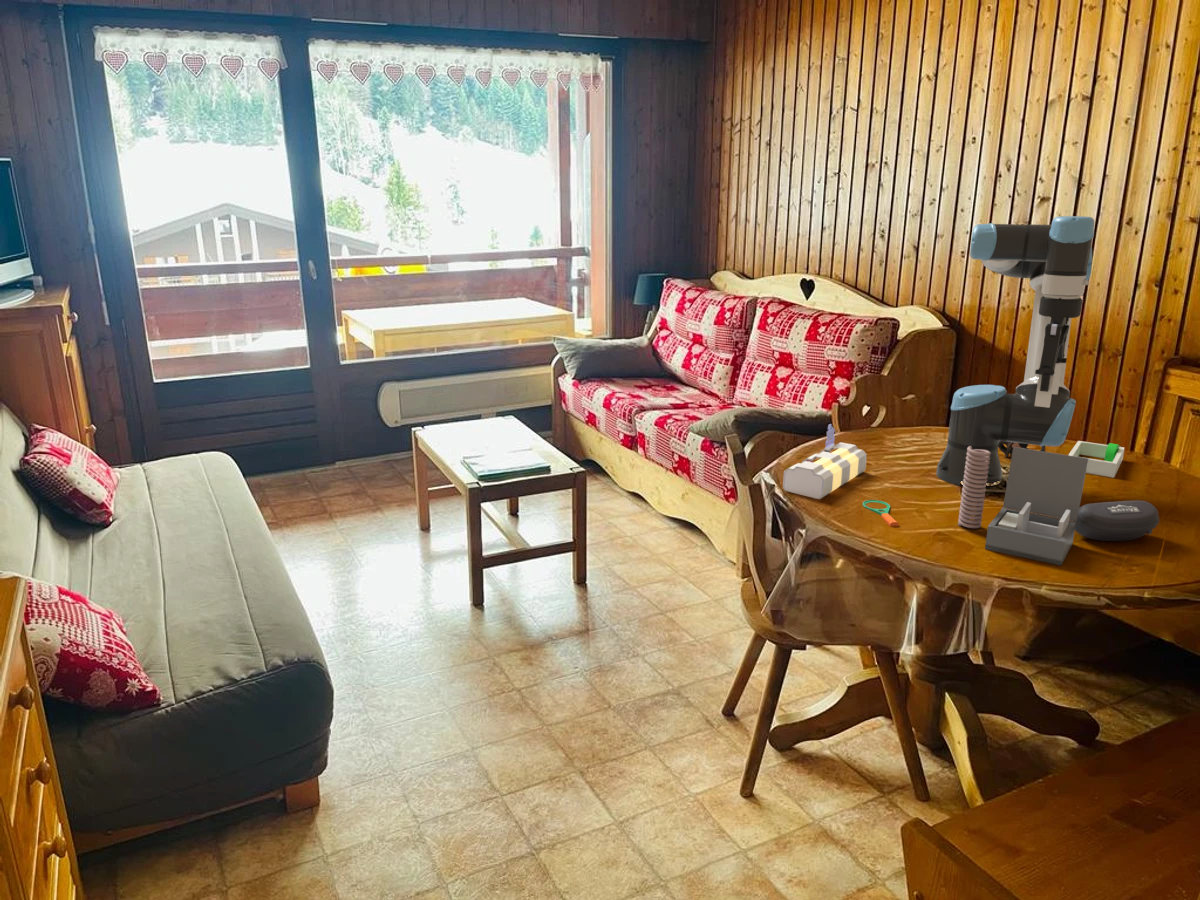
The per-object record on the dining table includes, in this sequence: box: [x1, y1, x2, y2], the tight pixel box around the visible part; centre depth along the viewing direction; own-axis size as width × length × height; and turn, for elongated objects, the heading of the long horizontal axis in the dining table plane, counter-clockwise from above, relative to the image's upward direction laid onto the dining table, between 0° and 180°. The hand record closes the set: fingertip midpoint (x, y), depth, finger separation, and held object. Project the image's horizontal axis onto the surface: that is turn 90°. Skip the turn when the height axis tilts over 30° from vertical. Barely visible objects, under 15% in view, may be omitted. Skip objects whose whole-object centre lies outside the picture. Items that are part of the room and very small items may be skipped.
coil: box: [957, 446, 991, 529], centre depth 184 cm, size 5×5×18 cm
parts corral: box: [1068, 440, 1125, 479], centre depth 226 cm, size 11×17×4 cm, turn 144°
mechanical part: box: [1103, 442, 1120, 462], centre depth 229 cm, size 12×6×8 cm, turn 139°
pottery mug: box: [998, 441, 1047, 458], centre depth 230 cm, size 12×9×8 cm
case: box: [984, 447, 1090, 566], centre depth 176 cm, size 14×16×18 cm
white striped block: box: [782, 423, 868, 500], centre depth 213 cm, size 25×10×13 cm, turn 141°
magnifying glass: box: [862, 499, 900, 527], centre depth 194 cm, size 15×6×2 cm, turn 1°
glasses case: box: [1075, 499, 1160, 542], centre depth 181 cm, size 18×10×8 cm, turn 99°
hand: (1046, 400), depth 179 cm, fingers open, 13 cm apart
